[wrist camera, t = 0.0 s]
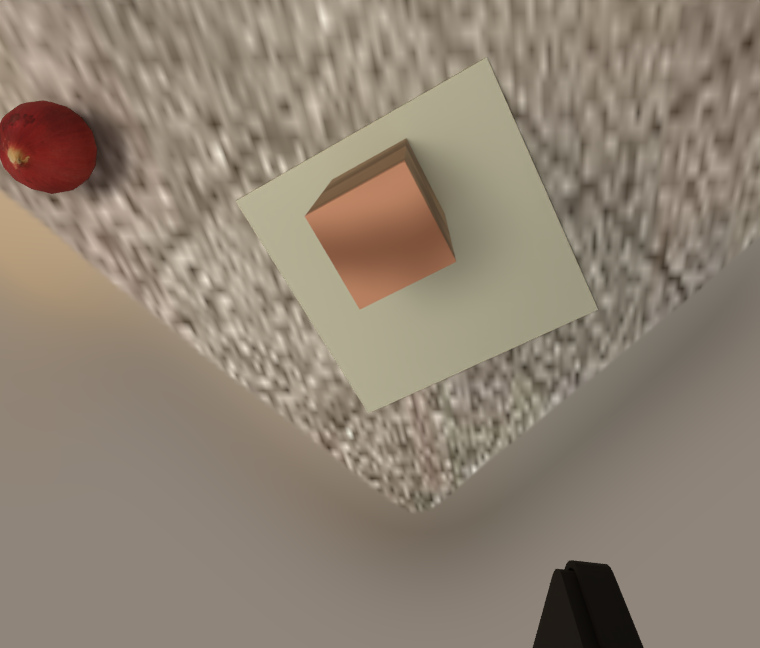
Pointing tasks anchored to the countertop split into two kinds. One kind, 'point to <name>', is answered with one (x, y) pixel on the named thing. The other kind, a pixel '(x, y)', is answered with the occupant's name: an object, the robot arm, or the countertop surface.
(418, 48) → the countertop surface
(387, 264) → the copper block
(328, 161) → the mat
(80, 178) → the onion
